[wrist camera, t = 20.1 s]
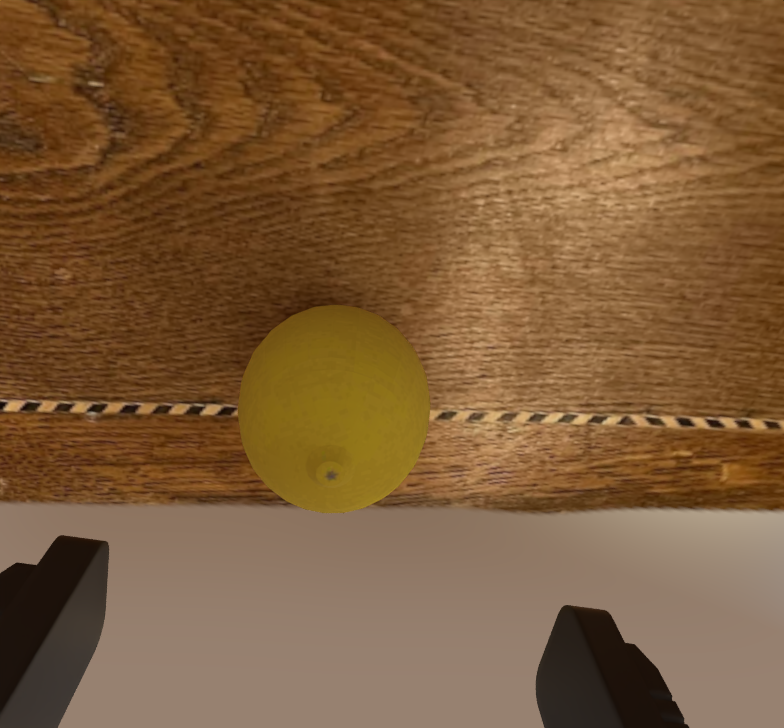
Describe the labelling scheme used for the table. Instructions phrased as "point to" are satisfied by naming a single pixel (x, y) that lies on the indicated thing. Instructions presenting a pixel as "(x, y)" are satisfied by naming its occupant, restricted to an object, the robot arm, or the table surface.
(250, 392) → the lemon
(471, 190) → the table surface
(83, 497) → the table surface
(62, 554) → the robot arm
